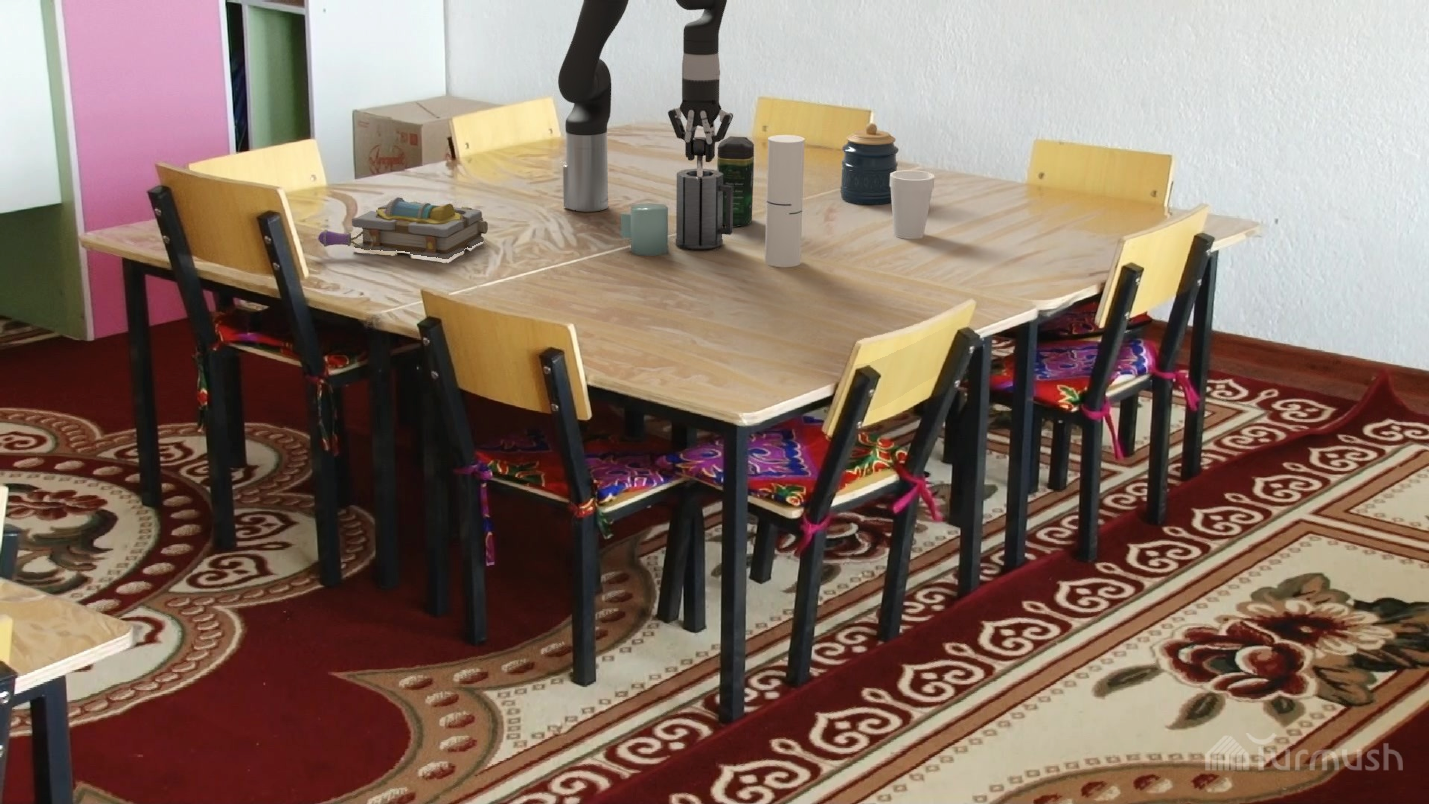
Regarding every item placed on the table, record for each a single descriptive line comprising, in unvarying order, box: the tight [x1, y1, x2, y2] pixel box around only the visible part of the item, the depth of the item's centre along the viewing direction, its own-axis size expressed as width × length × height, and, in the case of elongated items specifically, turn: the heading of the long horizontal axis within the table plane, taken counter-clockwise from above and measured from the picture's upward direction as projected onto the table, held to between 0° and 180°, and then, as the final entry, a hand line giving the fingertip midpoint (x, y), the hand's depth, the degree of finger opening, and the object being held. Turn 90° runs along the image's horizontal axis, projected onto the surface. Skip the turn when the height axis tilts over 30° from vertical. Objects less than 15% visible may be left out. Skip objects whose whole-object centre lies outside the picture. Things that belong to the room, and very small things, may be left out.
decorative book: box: [317, 197, 489, 259], centre depth 321 cm, size 25×27×11 cm
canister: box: [840, 122, 900, 206], centre depth 363 cm, size 13×13×18 cm
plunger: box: [692, 136, 707, 177], centre depth 323 cm, size 4×4×18 cm
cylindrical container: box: [764, 134, 806, 268], centre depth 312 cm, size 7×7×25 cm
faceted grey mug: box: [675, 168, 734, 252], centre depth 325 cm, size 12×10×15 cm
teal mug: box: [620, 202, 669, 257], centre depth 322 cm, size 10×8×9 cm
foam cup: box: [890, 169, 935, 240], centre depth 335 cm, size 10×9×13 cm
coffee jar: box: [716, 135, 755, 228], centre depth 342 cm, size 10×8×19 cm
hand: (700, 160), depth 321 cm, fingers closed on plunger, 3 cm apart
